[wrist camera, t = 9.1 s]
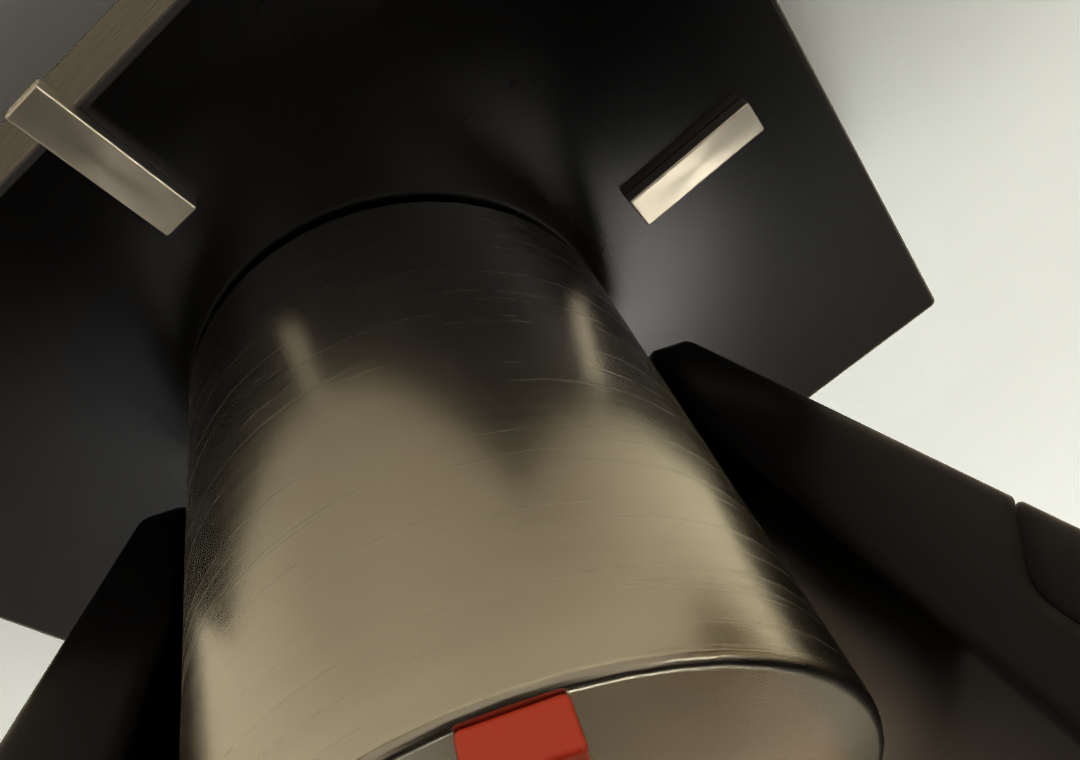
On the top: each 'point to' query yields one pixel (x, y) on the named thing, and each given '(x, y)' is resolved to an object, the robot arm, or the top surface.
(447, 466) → the dimmer knob
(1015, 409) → the top surface
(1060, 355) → the top surface
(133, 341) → the dimmer panel
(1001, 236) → the top surface
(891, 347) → the top surface
